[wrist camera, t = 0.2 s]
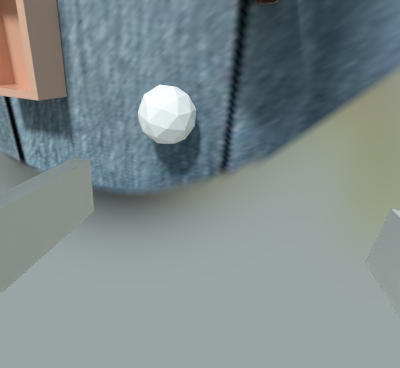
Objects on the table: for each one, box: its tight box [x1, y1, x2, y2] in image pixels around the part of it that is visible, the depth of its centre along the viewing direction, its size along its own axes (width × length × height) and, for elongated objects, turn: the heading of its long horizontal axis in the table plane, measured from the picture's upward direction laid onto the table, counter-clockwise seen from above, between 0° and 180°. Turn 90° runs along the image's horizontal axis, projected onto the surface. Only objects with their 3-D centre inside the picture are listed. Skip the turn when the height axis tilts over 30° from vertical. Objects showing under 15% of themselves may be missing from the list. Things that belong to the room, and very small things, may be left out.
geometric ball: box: [138, 85, 196, 144], centre depth 35 cm, size 8×8×8 cm
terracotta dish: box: [0, 0, 67, 101], centre depth 35 cm, size 16×9×6 cm, turn 174°
